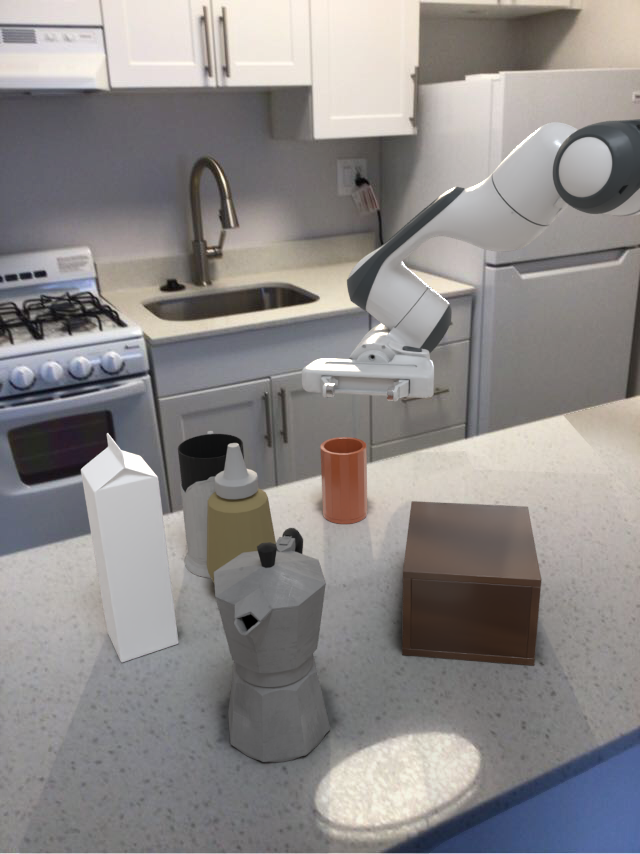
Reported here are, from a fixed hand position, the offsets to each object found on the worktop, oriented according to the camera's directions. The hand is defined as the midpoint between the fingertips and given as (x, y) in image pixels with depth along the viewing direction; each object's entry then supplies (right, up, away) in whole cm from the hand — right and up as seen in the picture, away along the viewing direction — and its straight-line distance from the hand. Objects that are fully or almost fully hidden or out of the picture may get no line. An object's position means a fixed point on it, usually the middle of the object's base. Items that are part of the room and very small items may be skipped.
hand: (359, 394), depth 109 cm
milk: (-24, -27, -30) cm, 47 cm away
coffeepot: (-9, -31, -42) cm, 52 cm away
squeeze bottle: (-14, -23, -23) cm, 36 cm away
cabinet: (+10, -25, -29) cm, 39 cm away
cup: (-2, -16, -6) cm, 18 cm away
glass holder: (-18, -20, -14) cm, 30 cm away
